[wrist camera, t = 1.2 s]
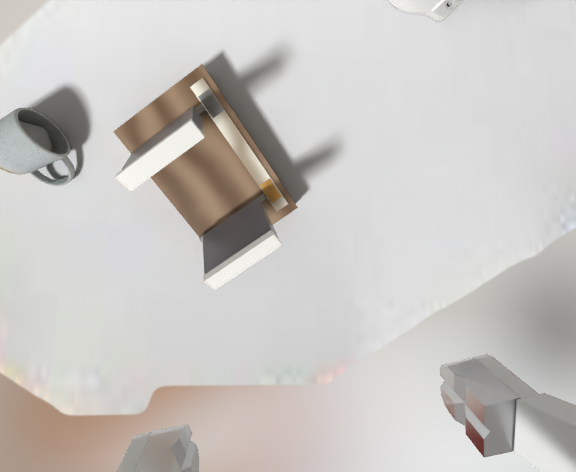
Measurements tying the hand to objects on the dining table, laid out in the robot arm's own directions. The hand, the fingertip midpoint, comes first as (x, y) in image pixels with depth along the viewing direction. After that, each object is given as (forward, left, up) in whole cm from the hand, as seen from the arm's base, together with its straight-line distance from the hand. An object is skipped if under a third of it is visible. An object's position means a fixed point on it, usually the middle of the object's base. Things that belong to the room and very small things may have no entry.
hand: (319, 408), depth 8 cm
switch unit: (+5, -11, -43) cm, 45 cm away
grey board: (+7, -3, -38) cm, 38 cm away
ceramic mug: (+26, -28, -43) cm, 58 cm away
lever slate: (+7, -19, -38) cm, 43 cm away
